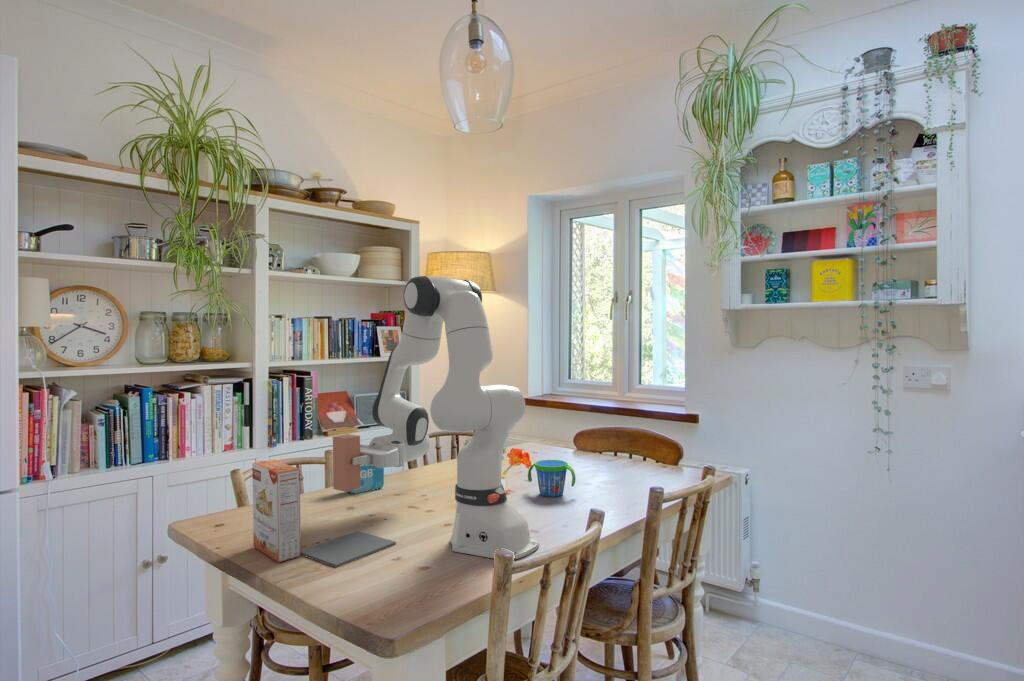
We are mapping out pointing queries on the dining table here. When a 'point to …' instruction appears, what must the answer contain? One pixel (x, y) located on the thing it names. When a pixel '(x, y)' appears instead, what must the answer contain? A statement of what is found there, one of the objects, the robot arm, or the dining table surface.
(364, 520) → the dining table surface
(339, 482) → the block
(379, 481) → the data package
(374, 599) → the dining table surface
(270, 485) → the cracker box
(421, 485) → the dining table surface
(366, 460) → the robot arm
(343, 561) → the mat
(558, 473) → the snack cup
